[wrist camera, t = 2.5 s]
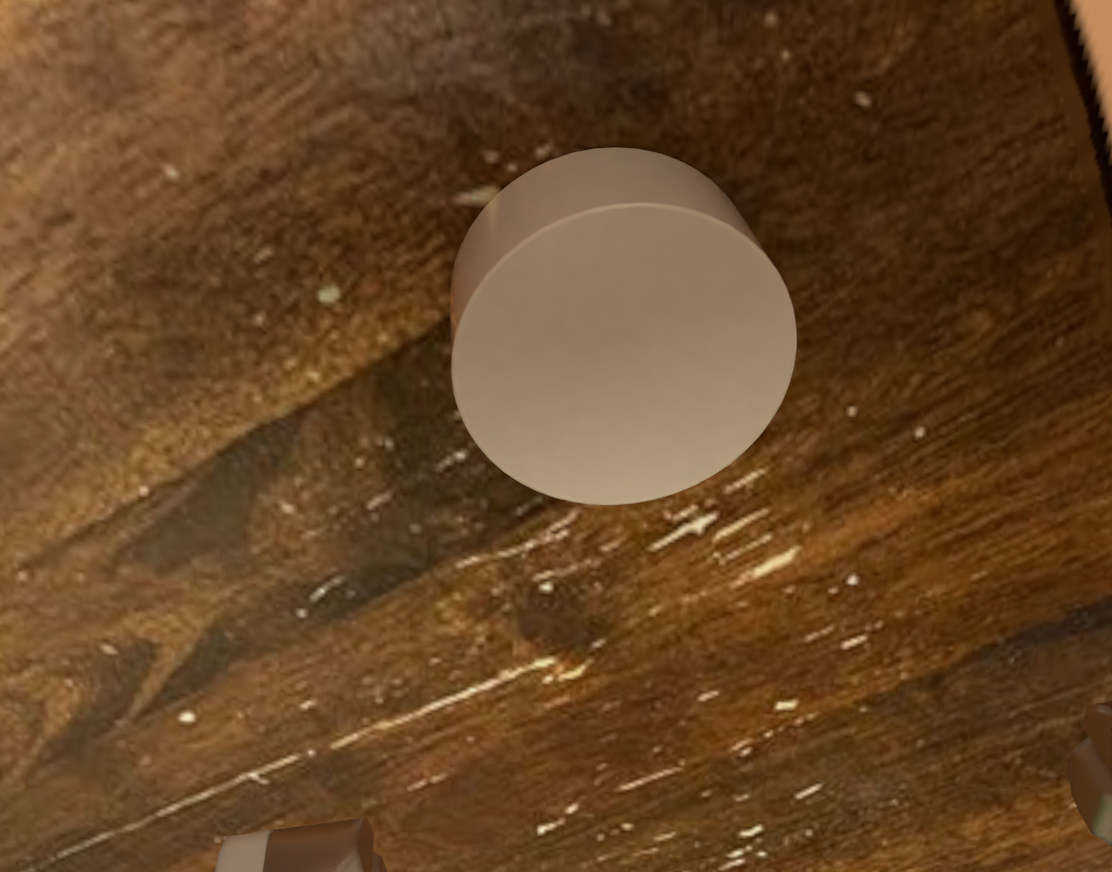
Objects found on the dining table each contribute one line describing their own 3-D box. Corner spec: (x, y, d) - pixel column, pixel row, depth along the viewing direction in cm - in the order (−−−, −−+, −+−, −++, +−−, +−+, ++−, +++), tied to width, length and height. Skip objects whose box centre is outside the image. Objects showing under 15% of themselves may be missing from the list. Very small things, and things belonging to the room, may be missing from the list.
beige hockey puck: (760, 125, 19) (807, 180, 17) (753, 405, 23) (790, 483, 20) (424, 168, 19) (422, 230, 16) (474, 443, 23) (478, 526, 20)
